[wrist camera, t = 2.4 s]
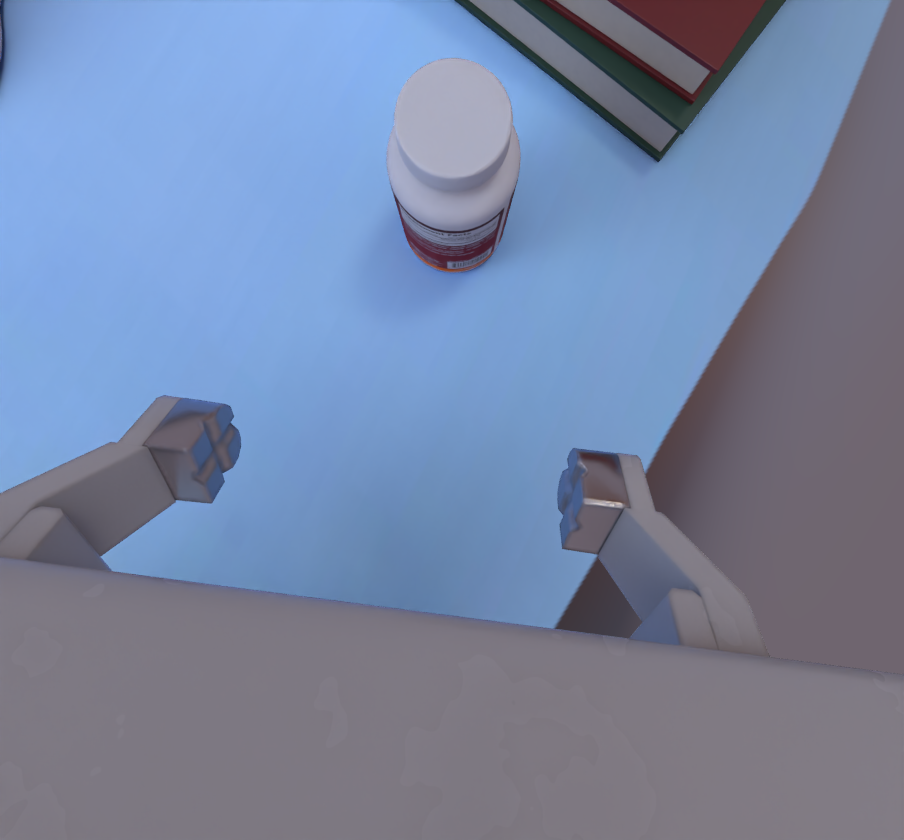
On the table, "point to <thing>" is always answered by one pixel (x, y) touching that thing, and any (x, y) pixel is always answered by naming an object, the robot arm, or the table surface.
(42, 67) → the table surface
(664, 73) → the upper book
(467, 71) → the pill bottle
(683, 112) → the lower book
